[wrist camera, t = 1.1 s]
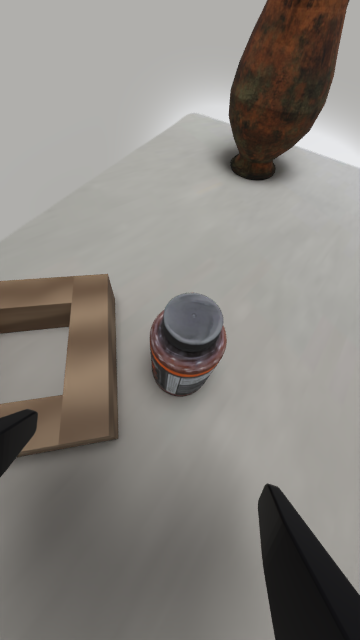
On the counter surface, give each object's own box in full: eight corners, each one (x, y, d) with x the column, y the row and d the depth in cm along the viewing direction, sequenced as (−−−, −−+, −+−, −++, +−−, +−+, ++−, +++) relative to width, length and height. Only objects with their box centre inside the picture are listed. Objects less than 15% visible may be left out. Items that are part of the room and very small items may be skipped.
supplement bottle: (150, 346, 25) (145, 280, 15) (201, 342, 26) (227, 278, 16) (153, 401, 22) (150, 362, 12) (211, 394, 23) (250, 353, 13)
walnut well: (118, 438, 20) (108, 435, 16) (-87, 476, 17) (-156, 483, 14) (114, 298, 28) (107, 273, 24) (-27, 310, 25) (-61, 285, 22)
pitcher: (203, 170, 47) (257, -172, 21) (239, 138, 57) (306, -118, 31) (276, 198, 43) (447, -165, 18) (301, 159, 54) (431, -108, 28)
